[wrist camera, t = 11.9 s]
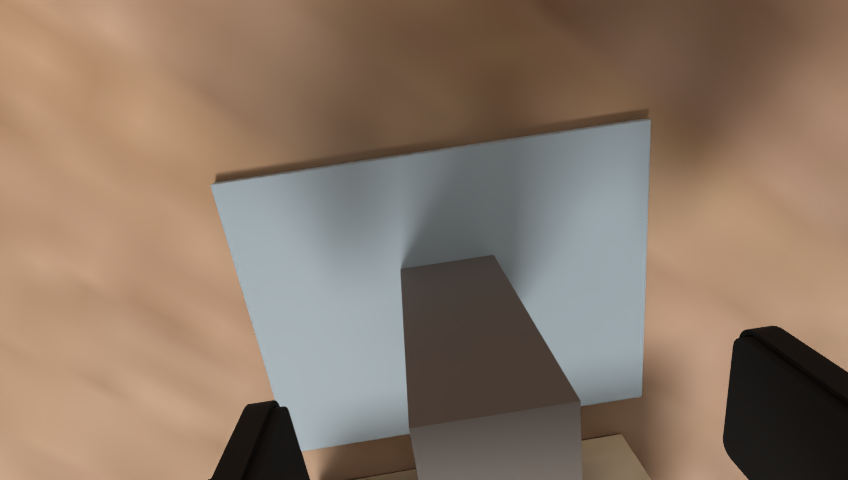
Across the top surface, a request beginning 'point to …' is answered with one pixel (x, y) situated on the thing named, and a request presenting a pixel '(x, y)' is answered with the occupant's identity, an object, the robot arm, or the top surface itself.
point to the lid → (452, 295)
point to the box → (601, 462)
